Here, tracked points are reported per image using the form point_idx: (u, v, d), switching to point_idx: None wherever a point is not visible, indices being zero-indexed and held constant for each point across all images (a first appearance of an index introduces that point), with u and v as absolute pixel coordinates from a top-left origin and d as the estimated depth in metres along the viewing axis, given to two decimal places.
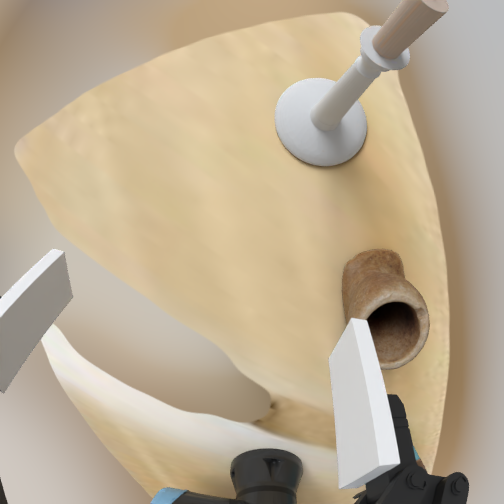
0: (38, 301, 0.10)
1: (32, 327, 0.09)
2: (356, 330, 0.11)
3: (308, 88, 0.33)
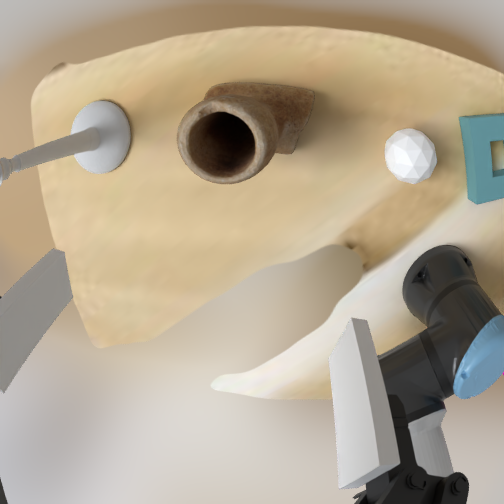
0: (38, 301, 0.10)
1: (32, 327, 0.09)
2: (356, 330, 0.11)
3: None
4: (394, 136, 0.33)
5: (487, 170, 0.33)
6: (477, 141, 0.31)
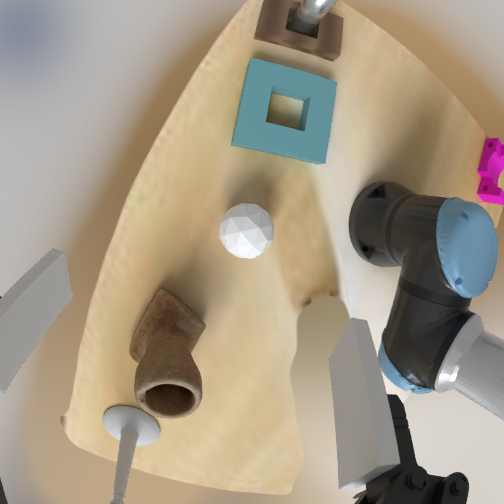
0: (38, 301, 0.10)
1: (32, 327, 0.09)
2: (356, 330, 0.11)
3: None
4: (222, 242, 0.40)
5: (295, 136, 0.40)
6: (260, 139, 0.39)
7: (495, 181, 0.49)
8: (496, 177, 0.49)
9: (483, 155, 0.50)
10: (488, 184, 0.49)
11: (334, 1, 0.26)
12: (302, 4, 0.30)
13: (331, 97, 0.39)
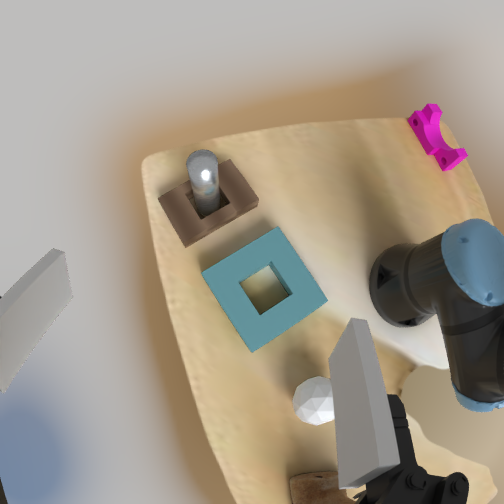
0: (38, 301, 0.10)
1: (32, 327, 0.09)
2: (356, 330, 0.11)
3: None
4: None
5: (290, 304, 0.43)
6: (268, 332, 0.42)
7: (444, 145, 0.55)
8: (441, 140, 0.55)
9: (419, 137, 0.57)
10: (443, 155, 0.54)
11: (216, 169, 0.37)
12: (194, 190, 0.41)
13: (286, 244, 0.45)
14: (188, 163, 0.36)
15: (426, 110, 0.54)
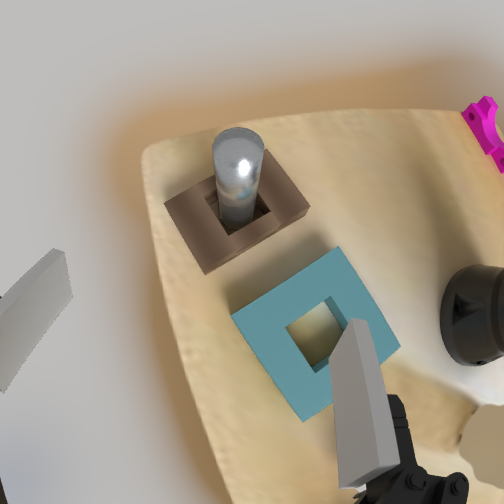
0: (38, 301, 0.10)
1: (32, 327, 0.09)
2: (356, 330, 0.11)
3: None
4: None
5: None
6: (326, 395, 0.27)
7: (502, 144, 0.40)
8: (498, 139, 0.41)
9: (476, 133, 0.43)
10: (503, 155, 0.39)
11: (262, 159, 0.22)
12: (221, 192, 0.26)
13: (349, 271, 0.31)
14: (216, 148, 0.21)
15: (482, 103, 0.39)
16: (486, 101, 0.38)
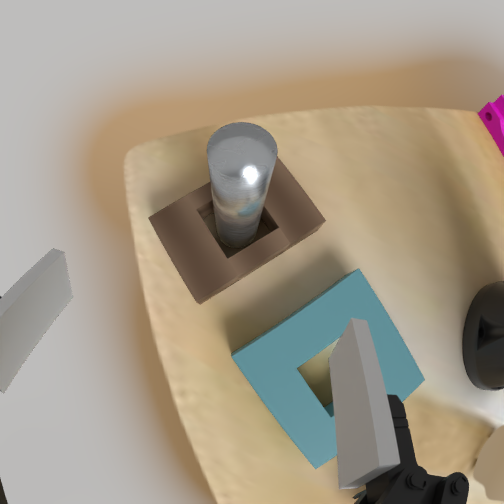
0: (38, 301, 0.10)
1: (32, 327, 0.09)
2: (356, 330, 0.11)
3: None
4: None
5: None
6: None
7: None
8: None
9: (493, 134, 0.38)
10: None
11: None
12: (219, 208, 0.21)
13: (371, 298, 0.25)
14: (211, 150, 0.16)
15: (500, 102, 0.34)
16: (503, 100, 0.33)
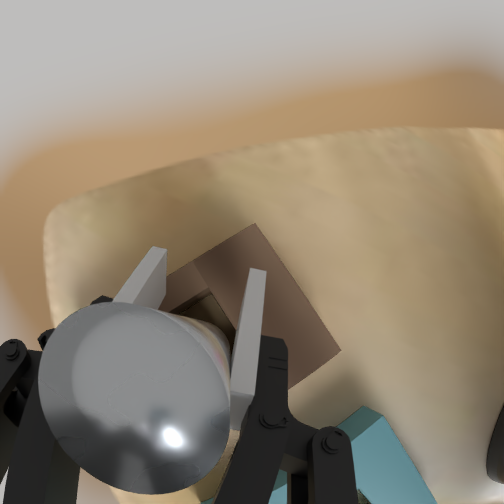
0: (148, 298, 0.11)
1: None
2: (250, 277, 0.13)
3: None
4: None
5: None
6: None
7: None
8: None
9: None
10: None
11: None
12: None
13: (394, 449, 0.14)
14: (49, 400, 0.04)
15: None
16: None
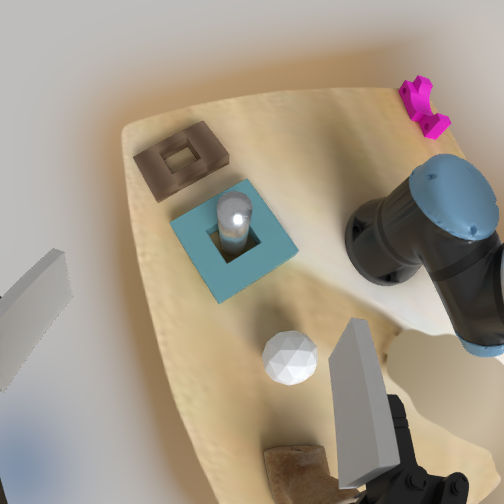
0: (38, 301, 0.10)
1: (32, 327, 0.09)
2: (356, 330, 0.11)
3: None
4: (280, 382, 0.37)
5: (258, 253, 0.43)
6: (236, 281, 0.41)
7: (430, 114, 0.54)
8: (429, 111, 0.55)
9: (406, 104, 0.57)
10: (426, 121, 0.54)
11: (251, 214, 0.33)
12: (222, 234, 0.37)
13: (255, 195, 0.45)
14: (219, 208, 0.32)
15: (416, 81, 0.54)
16: (419, 79, 0.53)
